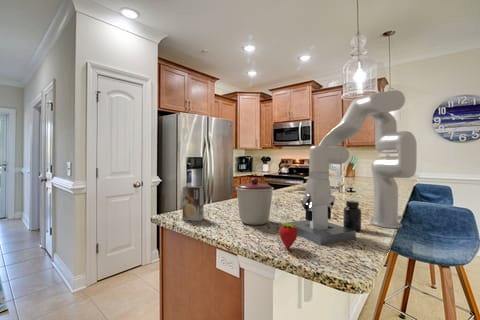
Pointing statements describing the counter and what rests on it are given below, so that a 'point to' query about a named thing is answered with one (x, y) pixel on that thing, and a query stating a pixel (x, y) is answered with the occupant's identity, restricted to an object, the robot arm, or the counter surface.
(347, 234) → the housing
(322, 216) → the skincare box
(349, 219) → the supplement bottle
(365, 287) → the counter surface
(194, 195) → the coffee box
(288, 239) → the strawberry
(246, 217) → the canister
